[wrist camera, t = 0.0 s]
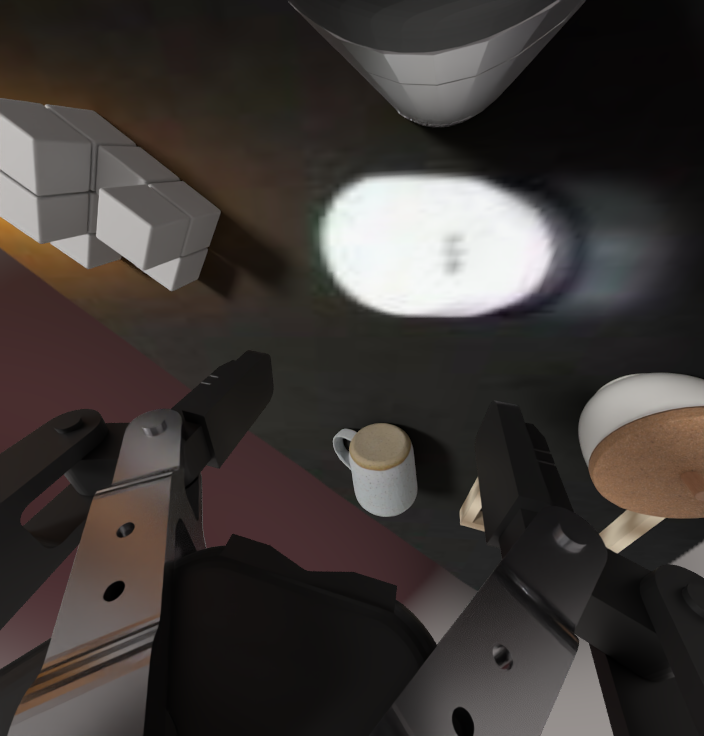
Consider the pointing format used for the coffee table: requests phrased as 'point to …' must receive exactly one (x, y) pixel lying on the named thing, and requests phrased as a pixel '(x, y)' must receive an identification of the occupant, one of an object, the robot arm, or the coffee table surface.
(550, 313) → the coffee table surface
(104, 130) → the puzzle cube
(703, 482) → the lidded jar
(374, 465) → the ceramic mug
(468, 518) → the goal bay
